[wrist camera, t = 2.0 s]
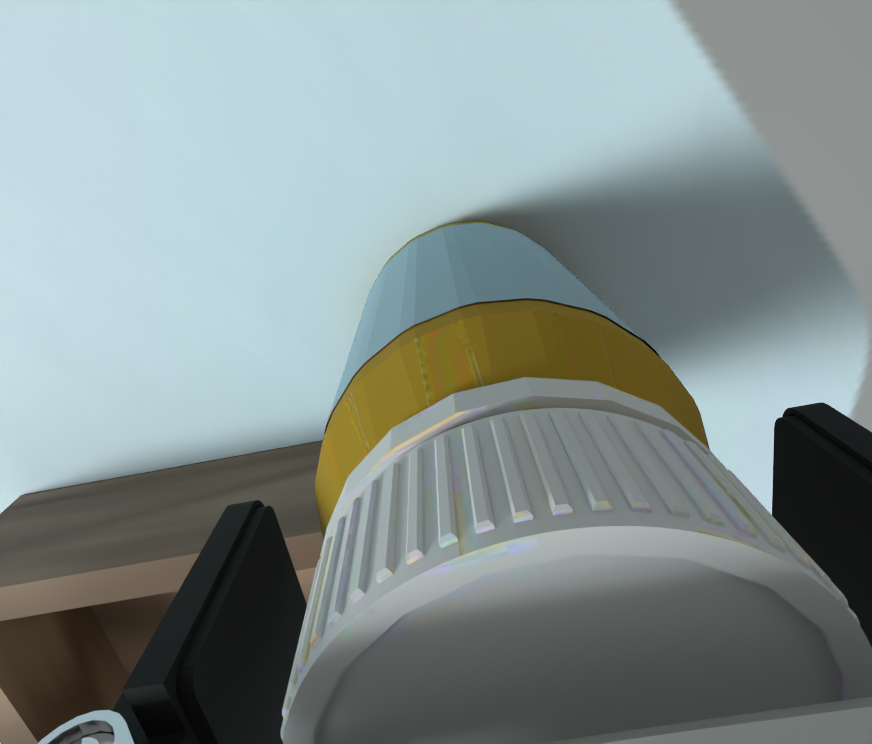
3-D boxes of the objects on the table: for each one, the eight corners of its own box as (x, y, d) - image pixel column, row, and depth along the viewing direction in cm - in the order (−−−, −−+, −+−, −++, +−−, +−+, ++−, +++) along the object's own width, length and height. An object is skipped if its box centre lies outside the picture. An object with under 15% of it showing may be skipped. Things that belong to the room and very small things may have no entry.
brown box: (20, 495, 22) (-100, 604, 17) (403, 426, 21) (398, 518, 16) (149, 722, 27) (86, 860, 22) (463, 673, 26) (473, 802, 21)
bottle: (597, 246, 19) (1091, 558, 5) (534, 429, 21) (743, 972, 8) (389, 195, 18) (284, 396, 4) (350, 391, 21) (205, 920, 7)
